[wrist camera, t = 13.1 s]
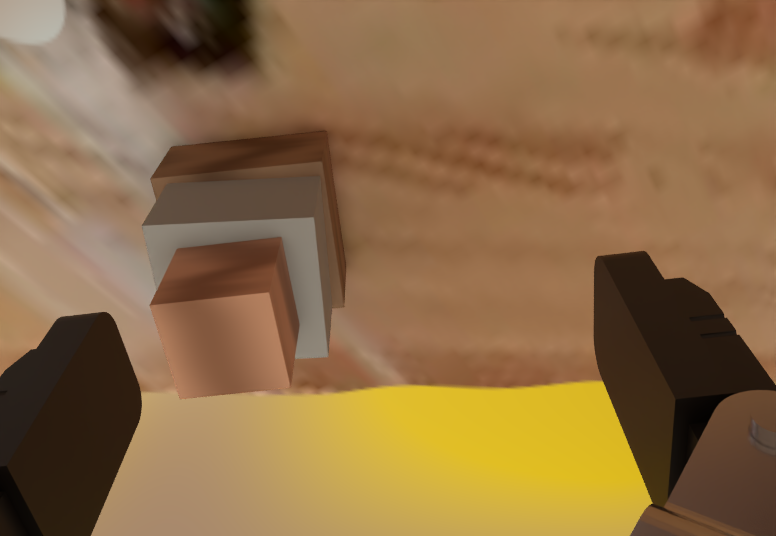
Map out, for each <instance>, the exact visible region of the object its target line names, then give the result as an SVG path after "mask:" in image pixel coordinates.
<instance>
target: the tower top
mask: <svg viewBox="0 0 776 536" xmlns="http://www.w3.org/2000/svg"><path fill="white" fill-rule="evenodd" d="M142 229H143V233H144V238H145V242H146V246H147V251H148V255H149V259H150V264H151V268H152V272H153V277H154V281H155V286H156V290H157V289H158V287H159V285H160V283H161V281H162V279H163V277H164V275H165V272H166V270H167V268H168V266H169V264H170V262H171V260H172V258H173V256H174V254H175V252H176V249H178V248H187V247H196V246H205V245H214V244H223V243H232V242H241V241H250V240H258V239H267V238H276V237H282V242H283V247H284V251H285V256H286V261H287V266H288V271H289V276H290V280H291V285H292V290H293V295H294V300H295V304H296V309H297V314H298V319H299V324H300V326H299V333H298V340H297V347H296V354H295V359H299V358H319V357H328V353H329V340H330V327H331V314H332V298H331V287H330V277H329V266H328V255H327V245H326V234H325V224H324V213H323V203H322V192H321V181H320V176H310V177H289V178H269V179H249V180H229V181H208V182H188V183H168V184H166V186H165V188H164V189H163V191H162V193H161V194H160V196H159V198H158V200H157V201H156V203H155V205H154V206H153V208H152V210H151V211H150V213H149V215H148V216H147V218H146V220H145V221H144V223H143V225H142Z"/></svg>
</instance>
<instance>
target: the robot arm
mask: <svg viewBox="0 0 776 536" xmlns="http://www.w3.org/2000/svg"><path fill="white" fill-rule="evenodd" d="M594 347H595V354H596V360H597V365H598V369H599V372H600V375H601V377H602V380H603V382H604V385H605V387H606V390H607V392H608V394H609V397H610V399H611V402H612V404H613V407H614V409H615V412H616V414H617V417H618V419H619V421H620V424H621V426H622V429H623V431H624V433H625V436H626V438H627V441H628V444H629V446H630V448H631V451H632V453H633V456H634V458H635V461H636V463H637V465H638V468H639V470H640V473H641V475H642V478H643V480H644V483H645V485H646V488H647V490H648V493H649V495H650V497H651V500H652V502H653V504H651V505H649V506H648V507H647V508H646V509H645V511H644V512H643V514H642V515H641V517H640V519H639V520H638V522H637V524H636V526H635V528H634V530H633V531H632V533H631V535H630V536H776V385H775V384H774V382H773V381H772V379H771V378H770V377H769V375H768V374H767V372H766V371H765V370H764V368H763V367H762V366H761V364H760V363H759V361H758V360H757V359H756V357H755V356H754V355H753V353H752V352H751V350H750V349H749V348H748V346H747V345H746V343H745V342H744V341H743V339H742V338H741V337H740V335H737V334H736V330H735V328H734V327H733V325H732V324H731V323H730V321H729V320H728V319H727V318H725V317H724V313H723V312H722V310H721V309H720V307H719V306H718V305H717V303H716V302H715V301H714V299H713V298H712V296H711V295H710V294H709V293H708V292H706V291H704V290H703V289H701V288H700V287H698V286H696V285H695V284H693V283H691V282H690V281H688V280H686V279H685V278H674V279H665V280H664V278H663V277H662V275H661V274H660V272H659V270H658V269H657V267H656V266H655V264H654V263H653V261H652V260H651V258H650V256H649V255H648V254H647V252H645V251H639V252H630V253H622V254H613V255H604V256H598V257H597V258H596V260H595V267H594ZM141 408H142V400H141V391H140V387H139V384H138V381H137V378H136V375H135V373H134V370H133V367H132V365H131V362H130V360H129V357H128V354H127V352H126V349H125V346H124V344H123V341H122V338H121V336H120V333H119V330H118V328H117V325H116V323H115V321H114V319H113V318H112V316H111V315H110V314H109V313H107V312H99V313H91V314H82V315H73V316H65V317H60V318H58V319H57V320H56V321H55V323H54V324H53V326H52V327H51V328H50V330H49V331H48V333H47V334H46V336H45V337H44V339H43V340H42V342H41V343H40V344H39V346H38V347H37V349H33V350H30V351H29V352H28V353H26V354H25V355H24V356H23V357H21V358H20V359H19V360H18V361H16V362H15V363H14V364H13V365H11V366H10V367H9V368H7V369H6V370H5V371H4V373H3V374H2V375H1V377H0V536H91V534H92V531H93V529H94V527H95V524H96V522H97V520H98V517H99V515H100V513H101V510H102V508H103V506H104V503H105V501H106V499H107V496H108V494H109V491H110V489H111V487H112V484H113V482H114V480H115V477H116V475H117V473H118V470H119V468H120V465H121V463H122V461H123V458H124V456H125V453H126V451H127V449H128V447H129V444H130V442H131V440H132V437H133V434H134V432H135V430H136V428H137V425H138V423H139V420H140V416H141Z"/></svg>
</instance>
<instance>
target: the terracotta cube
mask: <svg viewBox="0 0 776 536" xmlns="http://www.w3.org/2000/svg"><path fill="white" fill-rule="evenodd" d="M150 308H151V311H152V314H153V317H154V320H155V323H156V327H157V330H158V333H159V336H160V339H161V342H162V345H163V348H164V351H165V354H166V358H167V361H168V364H169V367H170V370H171V373H172V376H173V379H174V382H175V385H176V388H177V392H178V395H179V398H180V399H187V398H197V397H206V396H215V395H225V394H235V393H245V392H254V391H264V390H273V389H283V388H291V381H292V374H293V368H294V361H295V354H296V347H297V340H298V333H299V326H300V324H299V319H298V314H297V309H296V304H295V300H294V295H293V290H292V285H291V280H290V276H289V271H288V266H287V261H286V256H285V251H284V247H283V242H282V237H276V238H267V239H258V240H250V241H241V242H232V243H223V244H214V245H205V246H196V247H187V248H178V249H176V252H175V254H174V256H173V258H172V260H171V262H170V264H169V266H168V268H167V270H166V272H165V275H164V277H163V279H162V281H161V283H160V285H159V287H158V289H157V291H156V293H155V295H154V297H153V300H152V302H151V304H150Z"/></svg>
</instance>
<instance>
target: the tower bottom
mask: <svg viewBox="0 0 776 536" xmlns="http://www.w3.org/2000/svg"><path fill="white" fill-rule="evenodd" d="M310 176H320V181H321V192H322V203H323V213H324V224H325V234H326V245H327V255H328V266H329V277H330V287H331V298H332V308H342V307H344V301H345V281H346V262H345V255H344V248H343V241H342V235H341V228H340V221H339V214H338V207H337V200H336V193H335V186H334V180H333V173H332V166H331V159H330V152H329V145H328V138H327V131H320V132H310V133H301V134H291V135H281V136H272V137H262V138H252V139H242V140H233V141H223V142H213V143H204V144H194V145H184V146H174V147H171V148H170V150H169V151H168V153H167V154H166V156H165V157H164V159H163V160H162V162H161V163H160V165H159V166H158V168H157V170H156V171H155V173H154V174H153V176H152V177H151V183H152V186H153V190H154V194H155V197H156V201H157V200H158V198H159V196H160V194H161V193H162V191H163V189H164V188H165V186H166V184H168V183H188V182H208V181H229V180H249V179H269V178H289V177H310Z"/></svg>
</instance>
